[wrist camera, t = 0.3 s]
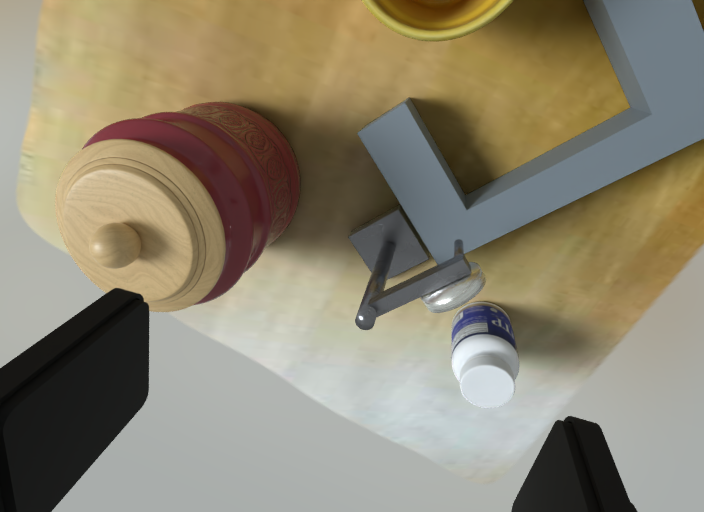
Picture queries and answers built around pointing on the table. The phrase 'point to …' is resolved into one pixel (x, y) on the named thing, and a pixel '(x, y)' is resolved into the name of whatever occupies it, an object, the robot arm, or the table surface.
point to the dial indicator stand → (402, 254)
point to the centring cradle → (570, 157)
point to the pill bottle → (484, 354)
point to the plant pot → (436, 16)
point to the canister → (177, 202)
